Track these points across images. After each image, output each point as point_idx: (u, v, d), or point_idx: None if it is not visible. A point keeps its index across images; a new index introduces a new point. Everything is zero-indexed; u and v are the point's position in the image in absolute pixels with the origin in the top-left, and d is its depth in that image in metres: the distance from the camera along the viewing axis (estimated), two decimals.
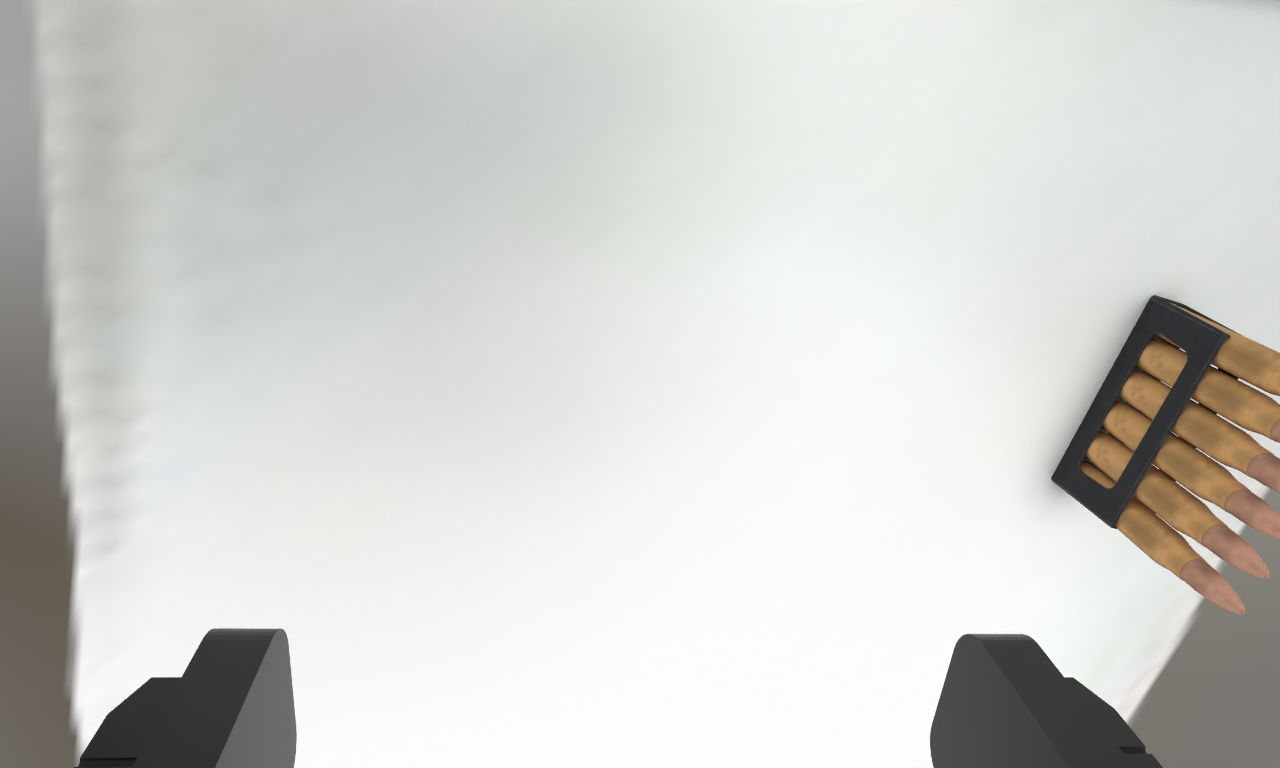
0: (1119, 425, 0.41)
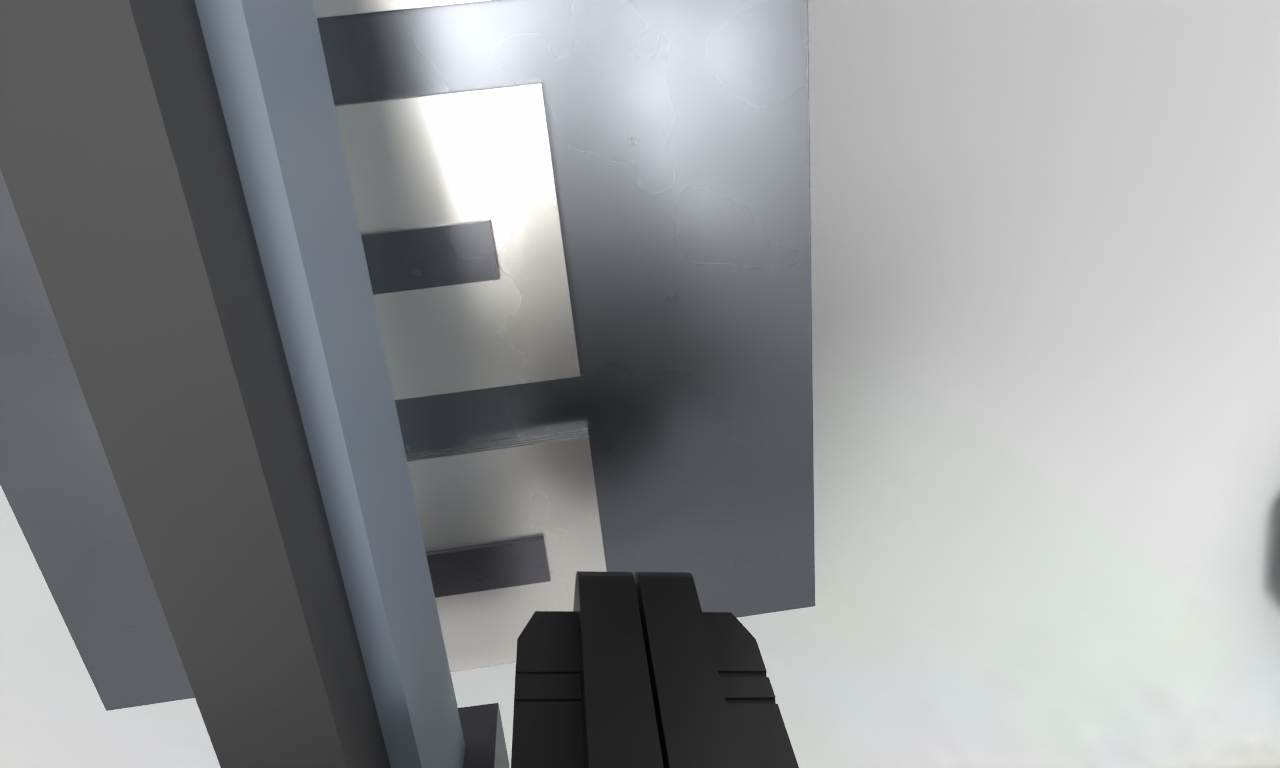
0: None
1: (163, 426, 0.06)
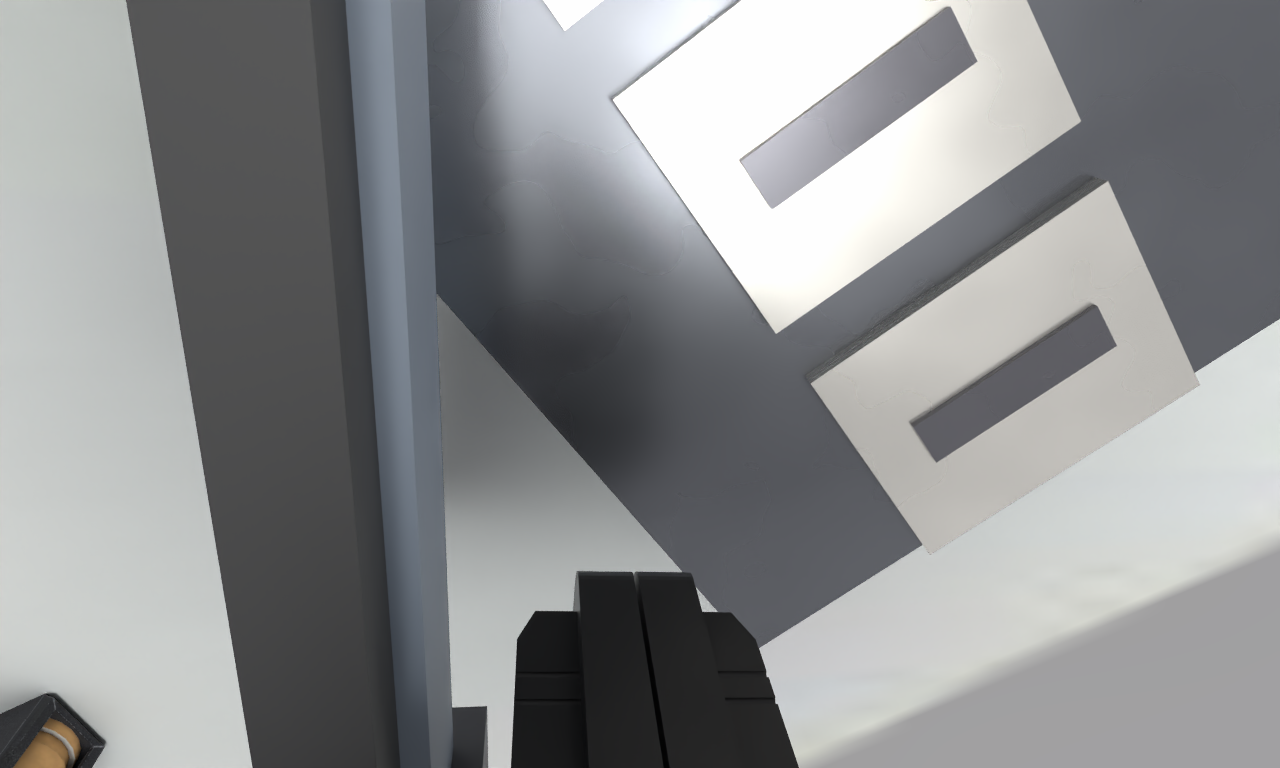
0: None
1: (259, 405, 0.06)
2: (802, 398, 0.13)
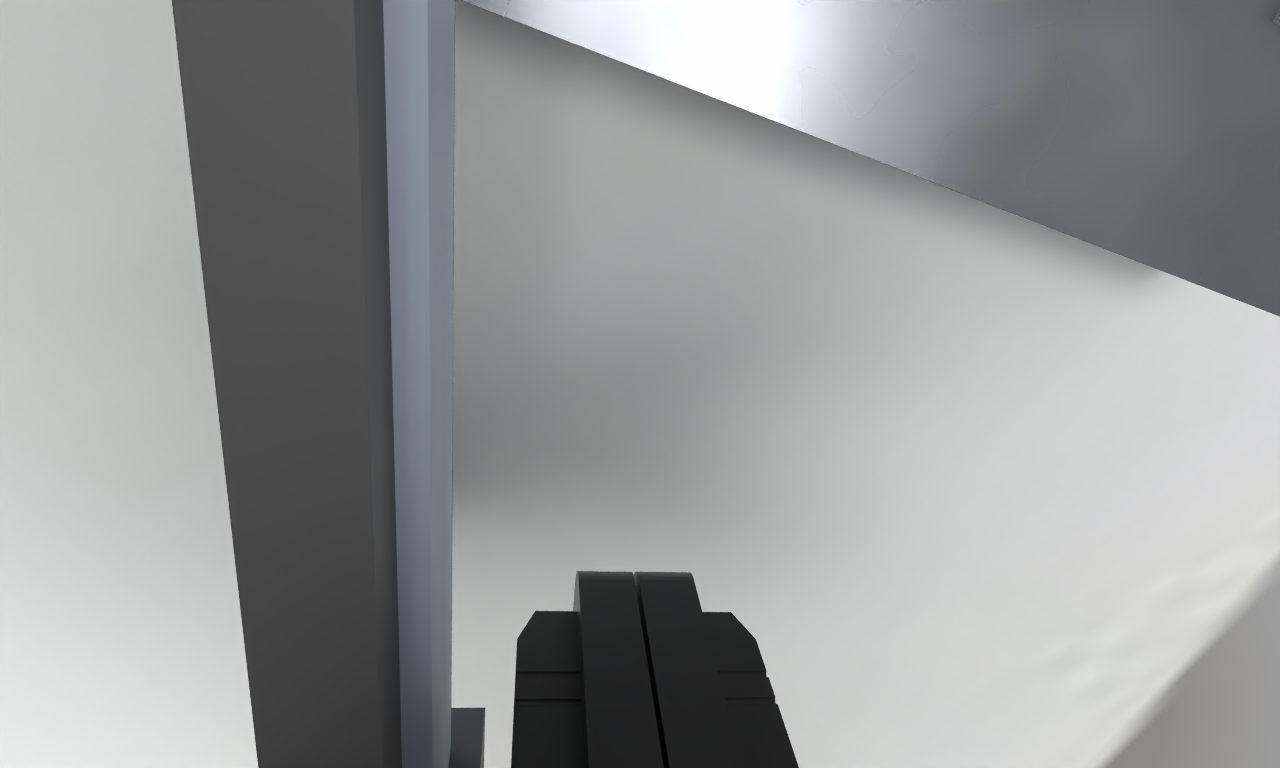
0: None
1: (284, 398, 0.06)
2: (1278, 47, 0.12)
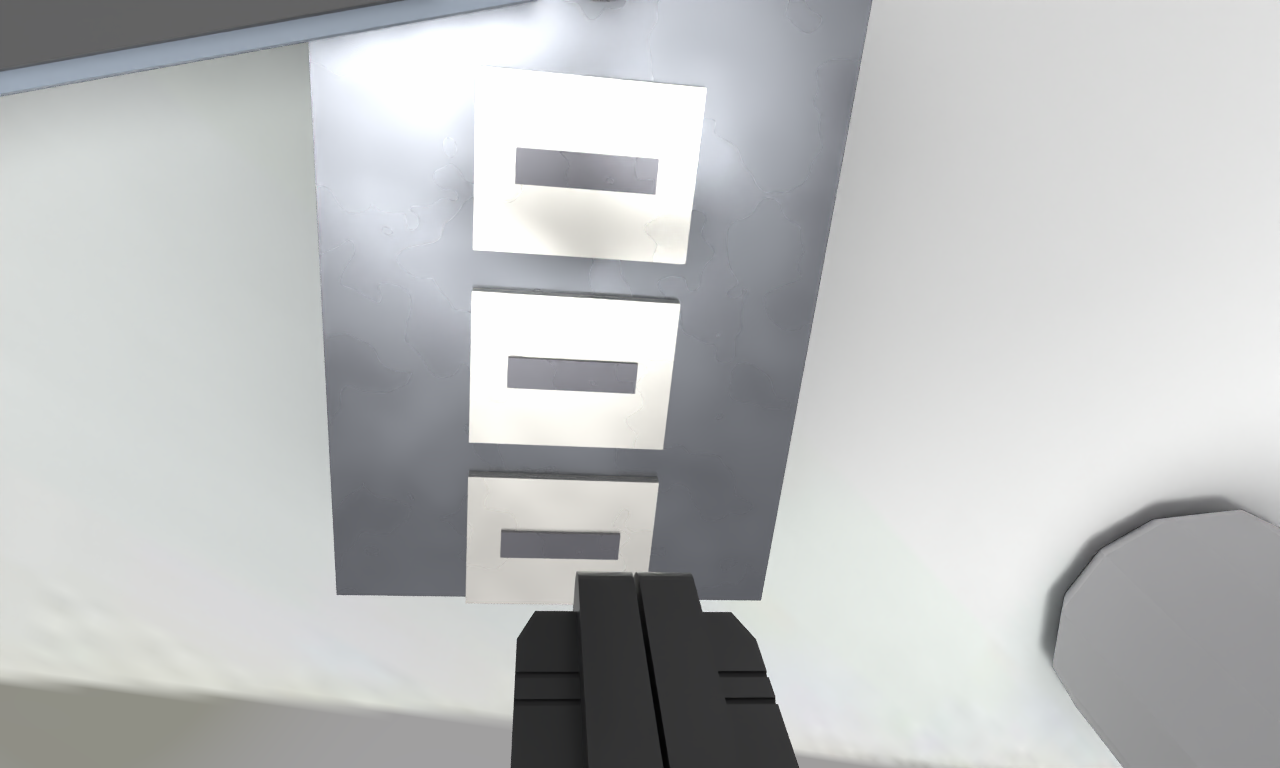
0: None
1: None
2: (459, 481, 0.22)
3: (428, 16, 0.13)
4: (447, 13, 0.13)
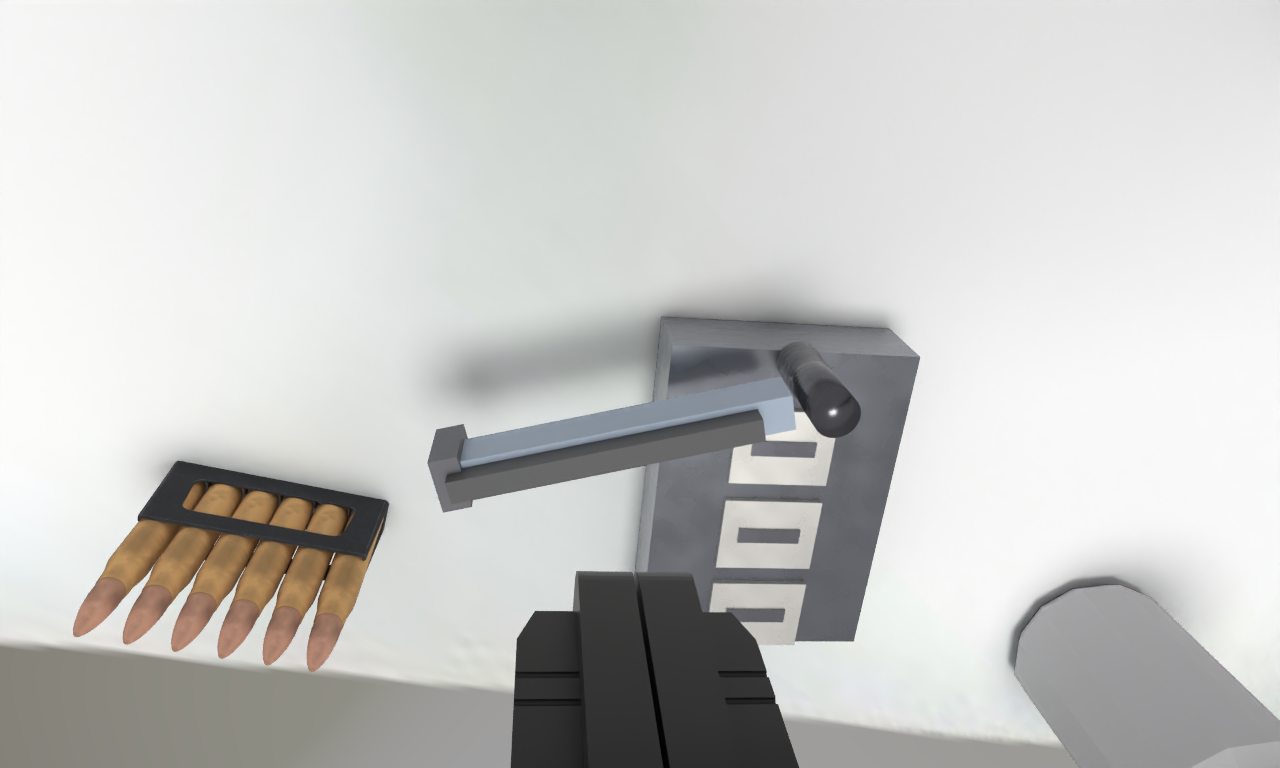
0: (254, 502, 0.42)
1: (617, 458, 0.34)
2: (707, 584, 0.44)
3: None
4: None
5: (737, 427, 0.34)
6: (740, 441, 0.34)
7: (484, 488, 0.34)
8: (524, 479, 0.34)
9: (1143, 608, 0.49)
